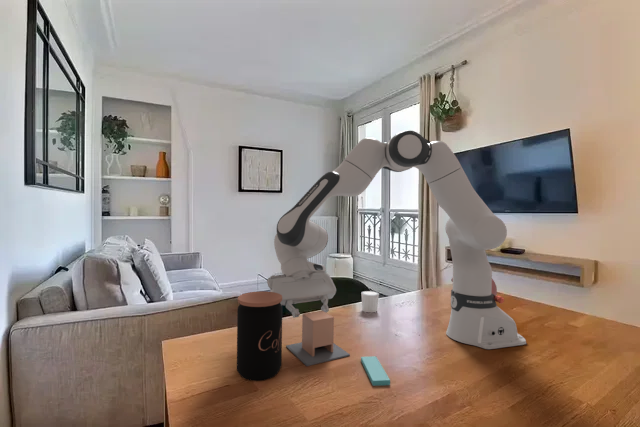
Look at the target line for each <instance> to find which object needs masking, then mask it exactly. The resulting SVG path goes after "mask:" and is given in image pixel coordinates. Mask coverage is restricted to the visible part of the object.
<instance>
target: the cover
mask: <svg viewBox="0 0 640 427" xmlns="http://www.w3.org/2000/svg"><path fill="white" fill-rule="evenodd" d="M301 318H302V321H301V322H302V325H301V328H302V331H301V332H302V333H301V342H302V348H303V349H304V350H305V351H307V352H308V353H309V354H310V355H311V356H312V357H313V356H314V355H315V348H316V347H321V346H324V347H325V348H326V349H328V350H329V351H330V352H333V343H334V338H335V337H334V335H335V334H334V333H335V332H334V329H335V328H334V326H335V324H334V323H335V318H334V316H333V315H331V314H329V313H328V312H324V311H322V310H320V311H319V310H318V311H310V312H305V313H302V317H301Z"/></svg>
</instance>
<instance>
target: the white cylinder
mask: <svg viewBox="0 0 640 427" xmlns="http://www.w3.org/2000/svg"><path fill="white" fill-rule="evenodd" d="M360 294H361V308H362V309H361V310H362V312H363V313H366V312H375V313H377V312H378V307H379V306H378V305H379V297H380V293H379V292H377V291H373V290H364V291H361V293H360ZM376 311H377V312H376Z"/></svg>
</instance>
